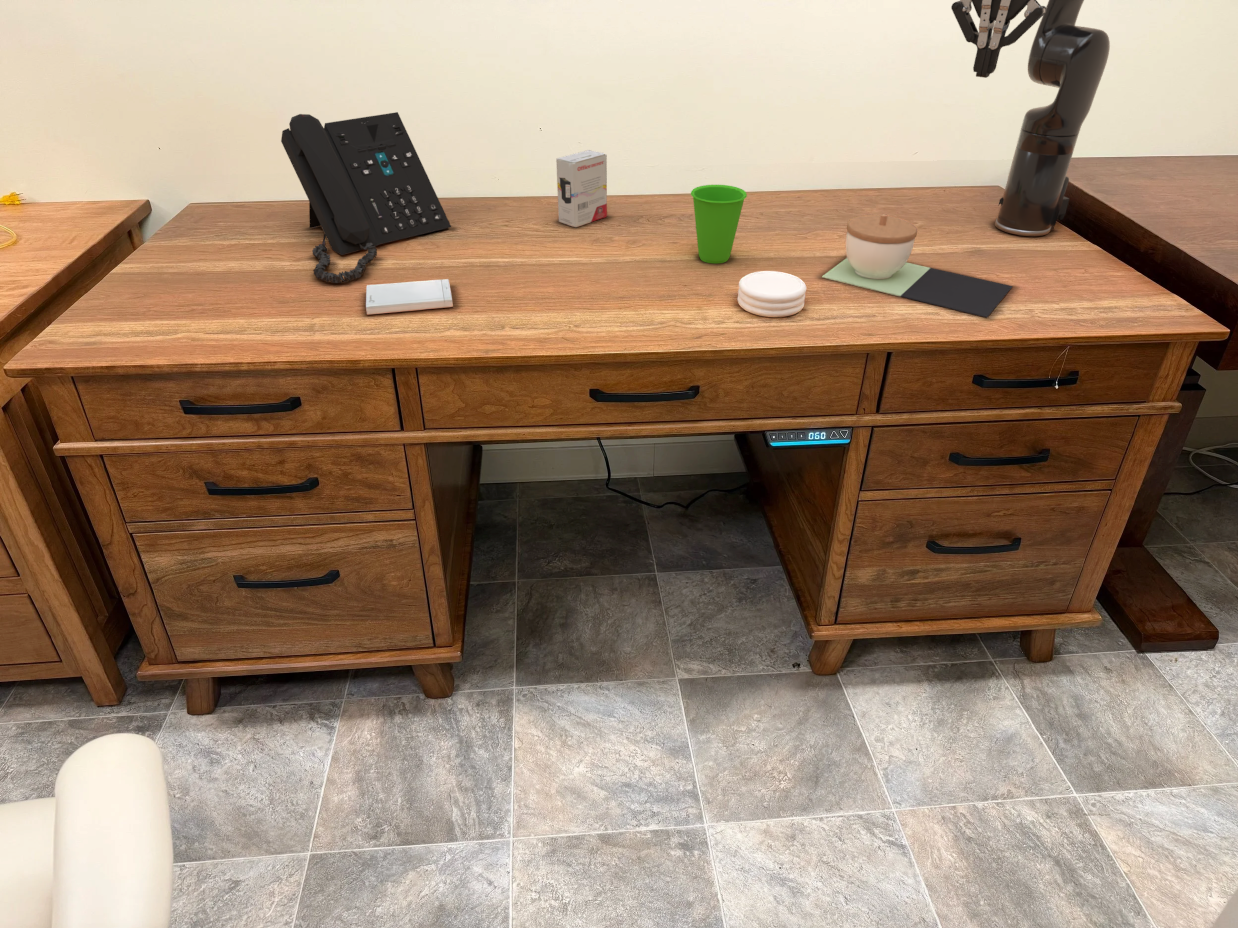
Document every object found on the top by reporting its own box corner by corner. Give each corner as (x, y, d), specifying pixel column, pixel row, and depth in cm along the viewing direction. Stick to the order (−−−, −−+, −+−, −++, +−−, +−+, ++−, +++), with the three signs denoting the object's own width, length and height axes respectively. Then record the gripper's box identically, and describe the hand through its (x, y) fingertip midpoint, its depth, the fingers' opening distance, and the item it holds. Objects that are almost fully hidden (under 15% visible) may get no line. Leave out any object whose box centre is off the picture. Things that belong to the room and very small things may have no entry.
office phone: (328, 289, 130) (300, 155, 118) (256, 241, 147) (226, 120, 136) (486, 245, 146) (475, 124, 134) (404, 206, 163) (388, 96, 152)
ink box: (590, 211, 161) (589, 148, 154) (608, 217, 158) (608, 153, 152) (557, 222, 156) (555, 157, 149) (575, 228, 153) (573, 162, 146)
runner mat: (1012, 287, 131) (1012, 286, 131) (987, 318, 122) (987, 316, 122) (855, 252, 144) (855, 251, 144) (821, 277, 134) (821, 276, 134)
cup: (738, 270, 137) (744, 203, 131) (683, 265, 138) (687, 199, 132) (743, 250, 144) (749, 186, 138) (690, 246, 146) (694, 183, 139)
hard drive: (365, 306, 121) (452, 297, 123) (366, 284, 127) (448, 276, 130) (367, 316, 122) (453, 308, 124) (368, 294, 128) (449, 286, 131)
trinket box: (911, 265, 138) (923, 209, 133) (903, 289, 130) (916, 230, 125) (846, 256, 142) (855, 201, 136) (834, 279, 133) (843, 221, 128)
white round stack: (731, 292, 129) (732, 270, 127) (794, 290, 130) (796, 268, 128) (744, 319, 121) (747, 297, 119) (811, 317, 122) (815, 295, 120)
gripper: (1073, -63, 112) (1036, 77, 122) (973, -66, 118) (945, 68, 128) (1060, -60, 107) (1023, 86, 117) (956, -64, 113) (929, 75, 123)
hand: (982, 76), depth 122 cm, fingers closed
